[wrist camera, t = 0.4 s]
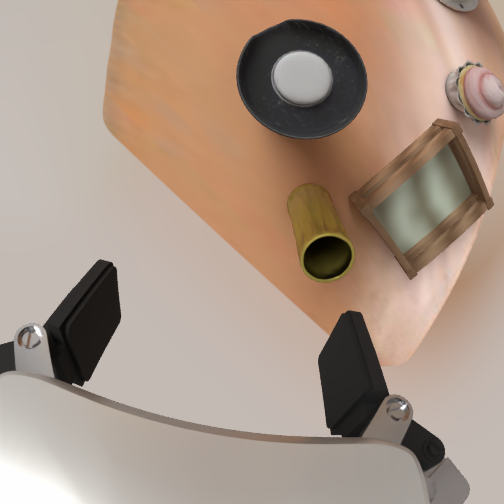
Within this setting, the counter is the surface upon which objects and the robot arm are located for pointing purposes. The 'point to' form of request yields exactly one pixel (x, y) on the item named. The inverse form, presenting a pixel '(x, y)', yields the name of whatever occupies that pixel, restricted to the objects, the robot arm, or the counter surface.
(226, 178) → the counter surface
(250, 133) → the counter surface
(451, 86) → the cupcake
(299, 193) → the vase
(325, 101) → the travel mug
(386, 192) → the tray
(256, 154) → the counter surface
